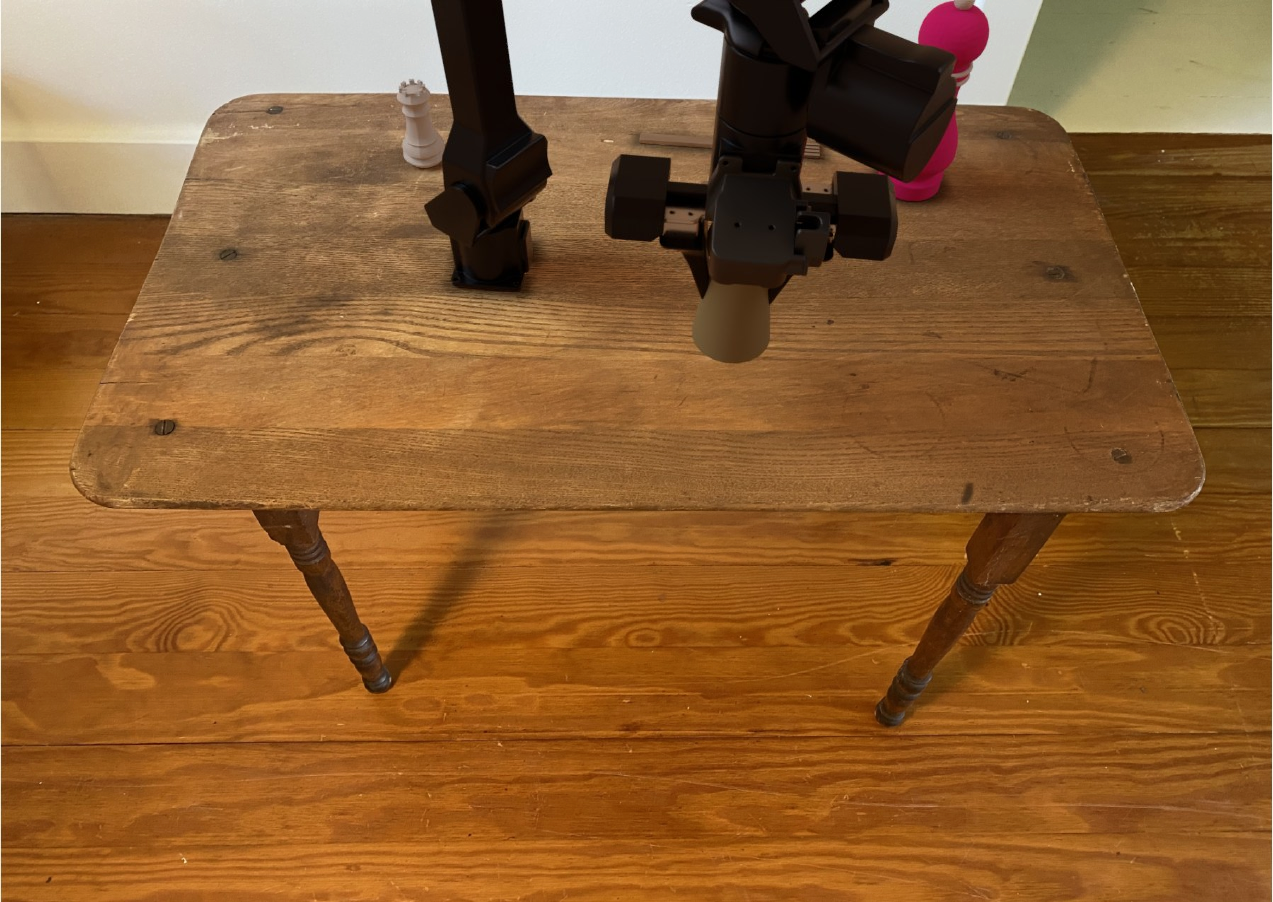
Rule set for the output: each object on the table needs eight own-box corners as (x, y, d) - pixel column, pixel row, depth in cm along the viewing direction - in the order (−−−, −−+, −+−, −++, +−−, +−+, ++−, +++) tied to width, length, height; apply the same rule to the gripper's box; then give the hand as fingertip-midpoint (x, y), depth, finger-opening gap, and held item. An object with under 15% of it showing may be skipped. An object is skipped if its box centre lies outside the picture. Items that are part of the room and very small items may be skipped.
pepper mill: (953, 176, 95) (1022, -17, 79) (927, 214, 91) (994, 20, 75) (889, 152, 97) (943, -41, 81) (861, 188, 94) (911, -6, 77)
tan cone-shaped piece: (764, 369, 68) (786, 258, 59) (685, 356, 69) (695, 244, 60) (774, 312, 72) (796, 199, 63) (698, 300, 72) (710, 186, 64)
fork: (639, 146, 97) (639, 142, 97) (641, 133, 98) (641, 129, 98) (819, 159, 96) (820, 155, 96) (818, 146, 98) (819, 142, 97)
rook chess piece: (444, 170, 94) (431, 100, 87) (400, 169, 94) (384, 99, 87) (450, 144, 96) (438, 73, 90) (407, 143, 96) (392, 72, 90)
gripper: (591, 182, 50) (595, 369, 63) (934, 209, 50) (869, 393, 62) (614, 68, 57) (613, 259, 69) (917, 91, 56) (861, 279, 69)
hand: (735, 298), depth 67 cm, fingers closed on tan cone-shaped piece, 4 cm apart
